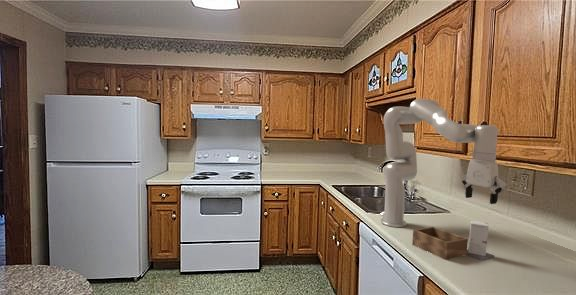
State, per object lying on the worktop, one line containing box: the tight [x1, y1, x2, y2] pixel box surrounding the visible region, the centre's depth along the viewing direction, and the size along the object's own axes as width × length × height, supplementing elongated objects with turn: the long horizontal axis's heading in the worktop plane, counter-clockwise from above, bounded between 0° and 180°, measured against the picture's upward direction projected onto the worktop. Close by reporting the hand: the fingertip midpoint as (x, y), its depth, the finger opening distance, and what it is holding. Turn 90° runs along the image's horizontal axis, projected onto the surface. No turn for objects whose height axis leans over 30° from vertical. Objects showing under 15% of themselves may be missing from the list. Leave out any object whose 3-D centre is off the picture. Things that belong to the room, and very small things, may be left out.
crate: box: [412, 226, 469, 261], centre depth 127 cm, size 16×12×6 cm
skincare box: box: [467, 220, 490, 256], centre depth 123 cm, size 6×4×12 cm
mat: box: [466, 249, 495, 261], centre depth 124 cm, size 8×8×1 cm
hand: (480, 200), depth 122 cm, fingers open, 9 cm apart
